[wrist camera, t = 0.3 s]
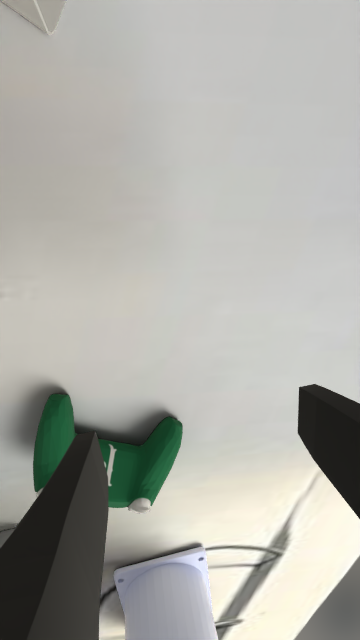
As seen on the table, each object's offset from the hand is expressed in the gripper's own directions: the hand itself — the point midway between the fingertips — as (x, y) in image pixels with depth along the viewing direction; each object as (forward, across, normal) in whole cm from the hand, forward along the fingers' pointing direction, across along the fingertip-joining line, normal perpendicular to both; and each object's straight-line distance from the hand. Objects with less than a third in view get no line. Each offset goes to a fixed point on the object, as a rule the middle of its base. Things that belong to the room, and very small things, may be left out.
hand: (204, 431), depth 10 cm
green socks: (+10, +5, +7) cm, 13 cm away
